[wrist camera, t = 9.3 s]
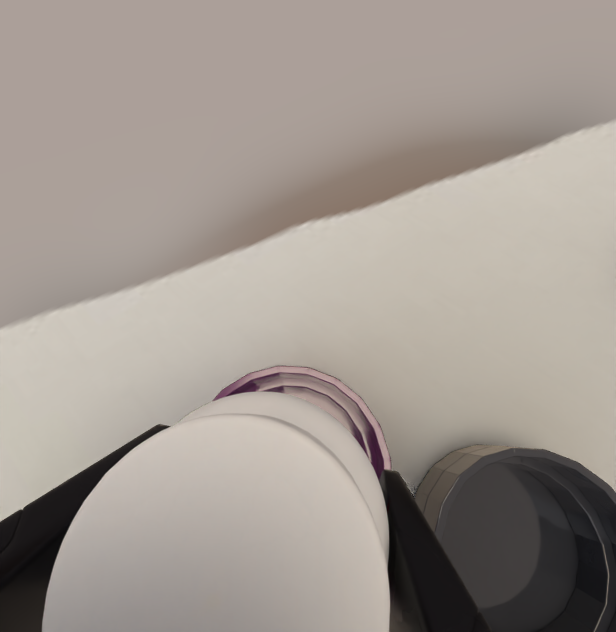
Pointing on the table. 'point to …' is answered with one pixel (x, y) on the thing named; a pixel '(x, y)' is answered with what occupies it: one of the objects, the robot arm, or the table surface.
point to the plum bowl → (322, 404)
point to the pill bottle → (230, 529)
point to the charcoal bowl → (527, 537)
